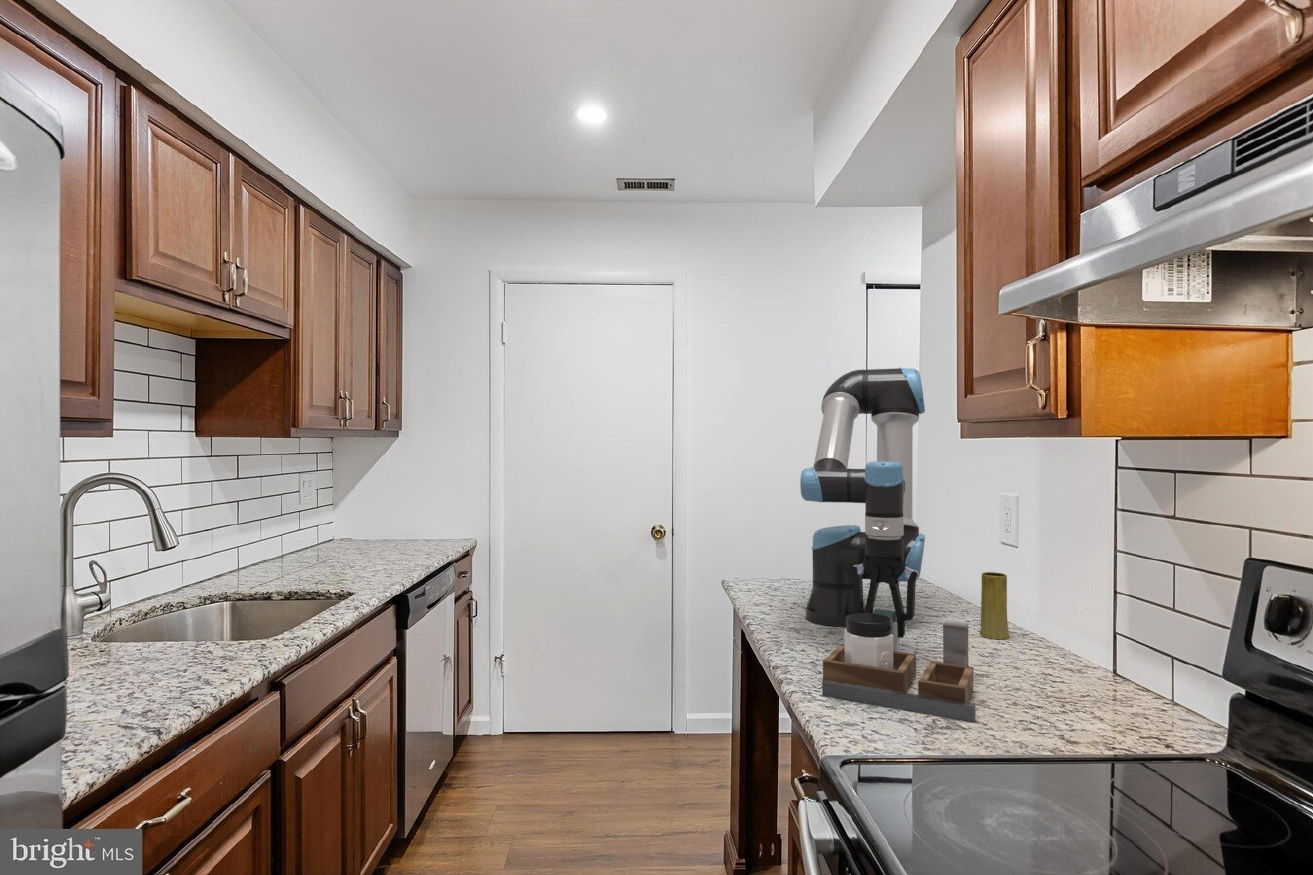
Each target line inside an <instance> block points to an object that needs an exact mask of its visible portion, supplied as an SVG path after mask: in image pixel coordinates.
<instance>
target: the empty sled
mask: <svg viewBox="0 0 1313 875" xmlns="http://www.w3.org/2000/svg"><path fill="white" fill-rule="evenodd" d="M942 647H943V648H942V656H943V657H942V662H941V661H933V660H930V661H929V663H928V664H927V666H926V667H925V669H924V671H923V673H922V674H921V676H920V677H919V679H918V680H917V681H918V682H917V693H918V694H917V695H922V696H928V697H934V698H940V699H946V700H952V701H958V702H964V703H970V700H971V696H972V694H973V691H974V666H971V665H970V666H969V622H967V621H966V622H965V621H955V620H946V619H945V621H944V623H943V624H942Z"/></svg>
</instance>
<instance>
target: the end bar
mask: <svg viewBox="0 0 1313 875" xmlns="http://www.w3.org/2000/svg"><path fill="white" fill-rule="evenodd" d="M821 685H822V686H821V690H822V692H821V696H822V697H828V698H834V699H839V700H845V701H850V702H857V703H864V704H869V705H873V706H874V705H875V706H879V707H886V708H892V709H897V710H903V711H909V712H914V713H921V714H926V715H931V716H937V717H943V718H948V719H952V720H953V719H955V720H959V721H960V720H961V721H967V722H971V723H975V722H976V719H977V718H976V714H977V713H976V712H977V711H976V707H977V706H976V704H975V703H970V702H969V703H964V702H958V701H952V700H946V699H940V698H934V697H928V696H922V695H918V694H913V693H909V692H905V693H903V692H897V691H891V690H885V689H879V688H873V687H866V686H860V685H854V684H848V683H842V682H836V681H830V680H824V681H823V680H822V682H821Z"/></svg>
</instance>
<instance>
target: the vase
mask: <svg viewBox="0 0 1313 875" xmlns="http://www.w3.org/2000/svg"><path fill="white" fill-rule="evenodd" d="M1007 582H1008V576H1007V574H1006V573H1002V572H996V571H993V572H992V571H984V572H981V598H980V600H981V601H980V606H981V607H980V629H979V630H980V631H979V635H980V636H981V637H982V638H986V639H989V640H990V639H992V640H1007V639H1009V637H1010V634H1009V623H1008V605H1007V604H1008V583H1007Z"/></svg>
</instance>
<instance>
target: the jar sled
mask: <svg viewBox="0 0 1313 875" xmlns="http://www.w3.org/2000/svg"><path fill="white" fill-rule="evenodd" d="M872 613H873V614H880V615H884V616H887V617H889V618H890V619H891V634H893V622H894V621H895V620H896V619H897V618H896V613H895V610H892V609H884V608H883V609H881V608H875V610H873V612H872ZM916 675H917V654H916V653H910V652H903V651H900V652H898V651H893V670H892V669H885V668H879V667H872V666H865V665H858V664H852V663H845V645H844V643H840V645H839V646H837V647H836V648H835V649H834V650H833V651H832V652H831V653H830V654H829V655H828V656H827V657H826V658H824V659H823V660H822V682H823V681H824V680H830V681H836V682H842V683H848V684H854V685H860V686H866V687H873V688H879V689H885V690H891V691H897V692H903V693H907V690H908V689H909V687H910V685H911V684H912V681H913V680H914V678H916V677H917V676H916Z"/></svg>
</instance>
